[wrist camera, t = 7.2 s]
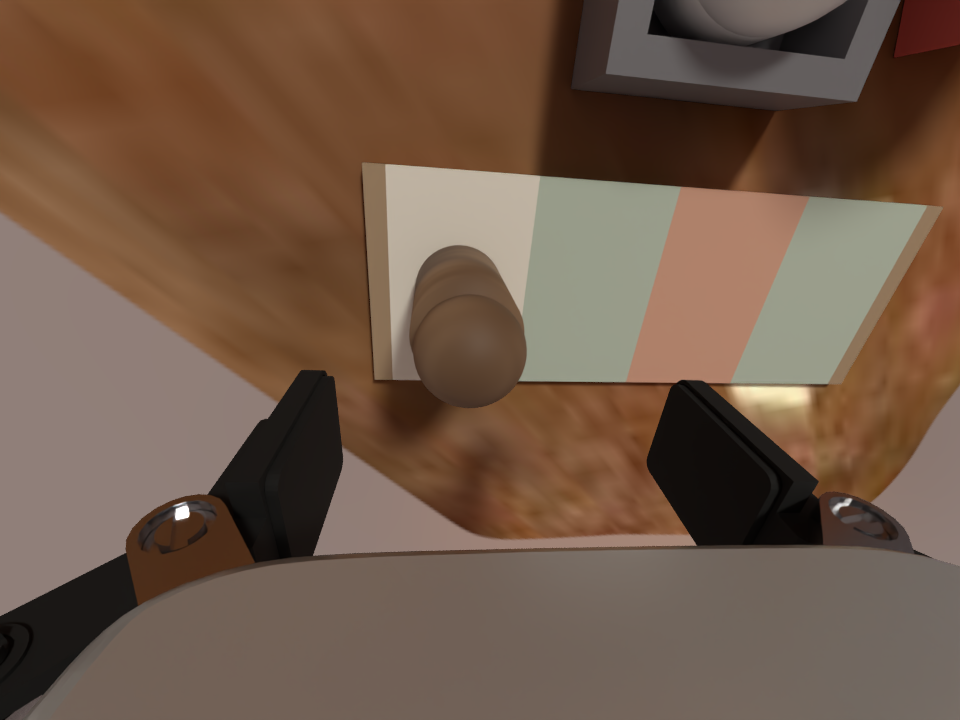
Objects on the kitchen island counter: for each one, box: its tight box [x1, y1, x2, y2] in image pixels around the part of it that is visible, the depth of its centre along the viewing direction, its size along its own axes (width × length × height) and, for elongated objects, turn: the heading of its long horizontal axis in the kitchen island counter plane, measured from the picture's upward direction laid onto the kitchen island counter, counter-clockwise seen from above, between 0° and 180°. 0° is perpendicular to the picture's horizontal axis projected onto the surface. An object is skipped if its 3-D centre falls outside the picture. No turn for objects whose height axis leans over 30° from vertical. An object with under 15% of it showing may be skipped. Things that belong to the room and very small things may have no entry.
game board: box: [362, 162, 943, 384], centre depth 22 cm, size 30×11×1 cm, turn 86°
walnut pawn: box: [409, 245, 527, 408], centre depth 16 cm, size 4×4×9 cm
